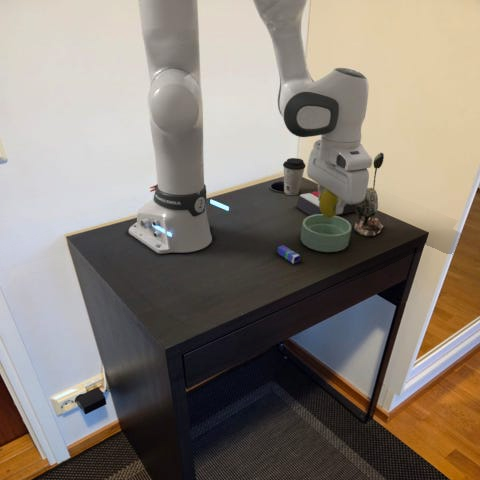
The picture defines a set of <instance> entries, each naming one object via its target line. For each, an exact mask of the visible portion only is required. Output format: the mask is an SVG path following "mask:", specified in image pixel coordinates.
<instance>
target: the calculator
mask: <svg viewBox="0 0 480 480" xmlns="http://www.w3.org/2000/svg"><path fill="white" fill-rule="evenodd" d="M318 199H319V193H318V190H316V191H311V193H310V192H308V193H302V194H300V195H299V194H298V195H297V201H296V208H297V209H299V210H301V211H302V212H304V213H305V214H307V215H309V216H312V215H316V214H322V213H321V211H320V208H319V202H320V201H319V200H318ZM351 213H356V211H355V204H352V205H350V204H348V203H346V205H345V206H344V208H343V212H342V213H341V214H337V215H335V216H341V215H346V214H347V215H348V214H351Z"/></svg>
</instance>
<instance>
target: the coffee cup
mask: <svg viewBox="0 0 480 480" xmlns="http://www.w3.org/2000/svg"><path fill="white" fill-rule="evenodd" d="M282 166H283V193H284V194H285V195H288V196H296V195H297V196H298V195H299V194H300V189H301V186H302V180H303V176H304V173H305V168H307V167H306V163H305V162H304V160H303V159H302V158H297V157H290V158H287V159H286V160H285V161H284V162H283V164H282Z"/></svg>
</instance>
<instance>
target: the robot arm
mask: <svg viewBox="0 0 480 480" xmlns="http://www.w3.org/2000/svg"><path fill="white" fill-rule="evenodd" d="M252 2H253V5H254V6H255V9H256V11H257V14H258V16H259V18H260V20H261V21H262V23H263V25H264V26H265V27H266V30H267V32H268V34H269V36H270V39H271V42H272V46H273V51H274V56H275V61H276V65H277V69H278V74H279V88H278V95H277V108H278V112H279V114H280V116H281V117H282V120H283V122H284V125H285V127H286V129H287V130H288V131H289V133H291V134H292V135H294V136H296V137H299V138H310V137H316V136H320V139H317V140H316V141H315V142H314V143H313V146H312V149H311V151H310V153H309V157H308V160H307V161H308V162H307V167H306V174H307V177H308V178H309V179H311V180H313V181H314V182H315V183H317V184H316V185H317V191H318V193H319V199H318V200H319V201H320V198H321V195H322V194H323V192H324V191H325V190H329V191H330V192H332V193H333V194H335V195H336V196H338V201H339V202H338V204H337V205H334V210H333V211H334V212H335V213H336V214H341V213H342V212H343V208H344V206H345V205H346V203H348V204H350V205H352V204H358V203H361V202H362V201H363V200H364V199H365V196H366V192H367V188H369V180H370V173H369V168H372V165H373V158H372V156H371V155H370V154H369V153H368V152H367V150H366V149H365V147H364V145H363V144H362V143H361V141H362V126H363V123H364V122H365V121H364V120H365V118H366V114H367V107H368V102H369V101H368V100H369V91H370V89H369V87H370V86H369V80H368V79H367V77H366V76H365V75H364V74H363V73H361V72H359V71H356V70H355V69H350V68H347V67H335V68H334V69H333V70H332V71H331V72H330V73H328V74H326V75H325V76H323V77H321V78H320V79H318V80H315V81H314V80H313V78H312V76H311V74H310V72H309V68H308V63H307V58H306V52H305V46H304V40H303V33H302V20H303V15H304V12H305V9H306V5H307V2H308V0H252ZM138 8H139V9H138V10H139V16H140V17H139V18H140V27H141V35H142V39H143V40H142V41H143V44H144V51H145V57H146V63H147V69H148V77H149V90H148V94H147V111H148V119H149V126H150V133H151V139H152V145H153V151H154V160H155V161H154V162H155V172H156V181H157V183H156V184H155V185H152V186H150V187H149V189H150V190H149V192H150V193H152V192H154V194H153V198H151V199H150V200H149V201H148V202H147V203H146V202H145V204H143V205H142V206H141V207H140V208H139V209H138V211H137V213H136V222H135V223H133V224H132V225H131V226H130V227H129V228H128V234H129V235H130V236H132V237H134V238H135V239H137V241H140V242H141V243H142V244H144V245H145V246H147V247H148V248H149V249H151V250H152V251H154V252H156V254H170V253H192V252H197V251H200V250H203V249H205V248H207V247H208V246H209V245H210V244H211V243H212V241H213V236H212V232H211V228H210V224H209V219H208V212H207V185H206V184H205V164H204V163H205V162H204V161H205V159H204V102H203V95H202V94H203V93H202V80H201V77H202V76H201V54H200V29H199V25H200V24H199V5H198V0H138ZM210 204H211V205H213V206H216V207H218V208H221V209H223V210H225V211H227V212H228V211H229V210H230V206H227V205H226V204H223V203H220V202H218V201H217V200H213V199H210Z"/></svg>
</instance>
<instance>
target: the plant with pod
mask: <svg viewBox="0 0 480 480" xmlns="http://www.w3.org/2000/svg"><path fill="white" fill-rule="evenodd" d="M384 158H385V155H384V153H383V152H379V153H377V154H376V155H375V157H374V159H373V161H372V165H373V168H374V176H373V185H372V186H373V187H367V192H366V196H365V199H364V200H363V201H362V202H361V203H358V204H355V211H356V212H355V215H357V216H358V221H356V222H355V223H354V226H353V230H354V232H356V233H357V234H359V235H362V236H366V237H373V236H377V235H378V234H379V233H381V231H382V230H383V227H385V226H384V225H383V223H381V221H379V218H378V217H375V216H376V215H377V213H378V208H379V199H378V193H377V190H375V185H376V176H377V171H378V169H380V168H381V167H382V165H383V163H384ZM373 217H374V218H373Z"/></svg>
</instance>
